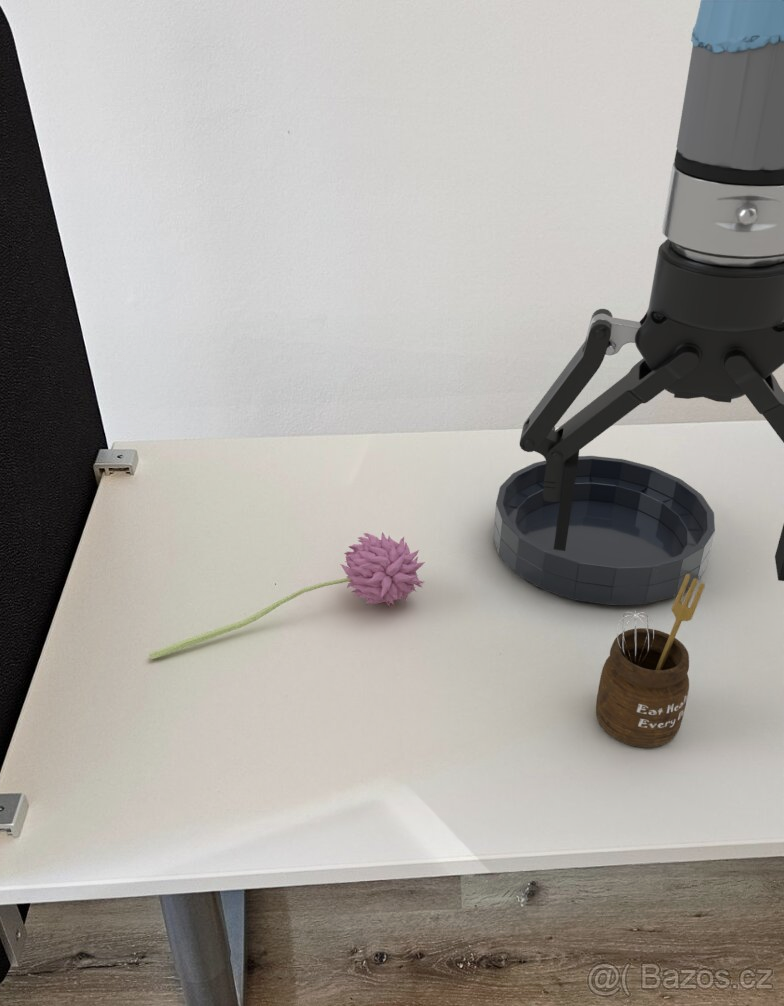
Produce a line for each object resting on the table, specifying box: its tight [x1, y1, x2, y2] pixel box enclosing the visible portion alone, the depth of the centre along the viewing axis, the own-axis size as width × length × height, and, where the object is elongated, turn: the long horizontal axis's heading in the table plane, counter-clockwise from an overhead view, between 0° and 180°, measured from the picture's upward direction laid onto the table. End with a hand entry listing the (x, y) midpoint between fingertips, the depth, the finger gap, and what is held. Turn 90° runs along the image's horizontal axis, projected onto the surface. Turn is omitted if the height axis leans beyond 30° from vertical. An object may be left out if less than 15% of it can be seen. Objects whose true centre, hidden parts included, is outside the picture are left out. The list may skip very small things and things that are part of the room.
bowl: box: [492, 455, 716, 606], centre depth 97 cm, size 18×18×4 cm
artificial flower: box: [148, 531, 426, 660], centre depth 91 cm, size 7×7×25 cm
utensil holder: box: [595, 574, 706, 748], centre depth 77 cm, size 6×6×12 cm
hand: (668, 554), depth 71 cm, fingers open, 13 cm apart
